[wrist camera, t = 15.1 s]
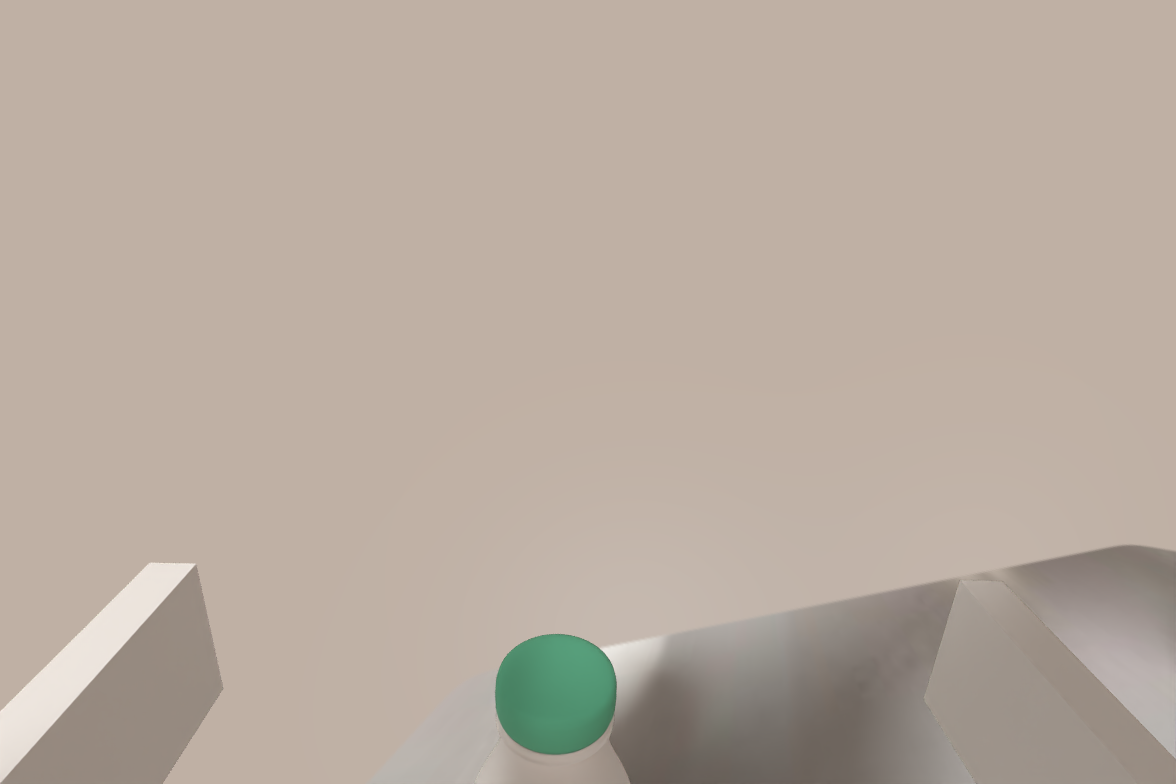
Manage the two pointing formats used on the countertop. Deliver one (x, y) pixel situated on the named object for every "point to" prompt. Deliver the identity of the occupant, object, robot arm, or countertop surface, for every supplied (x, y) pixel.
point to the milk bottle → (554, 715)
